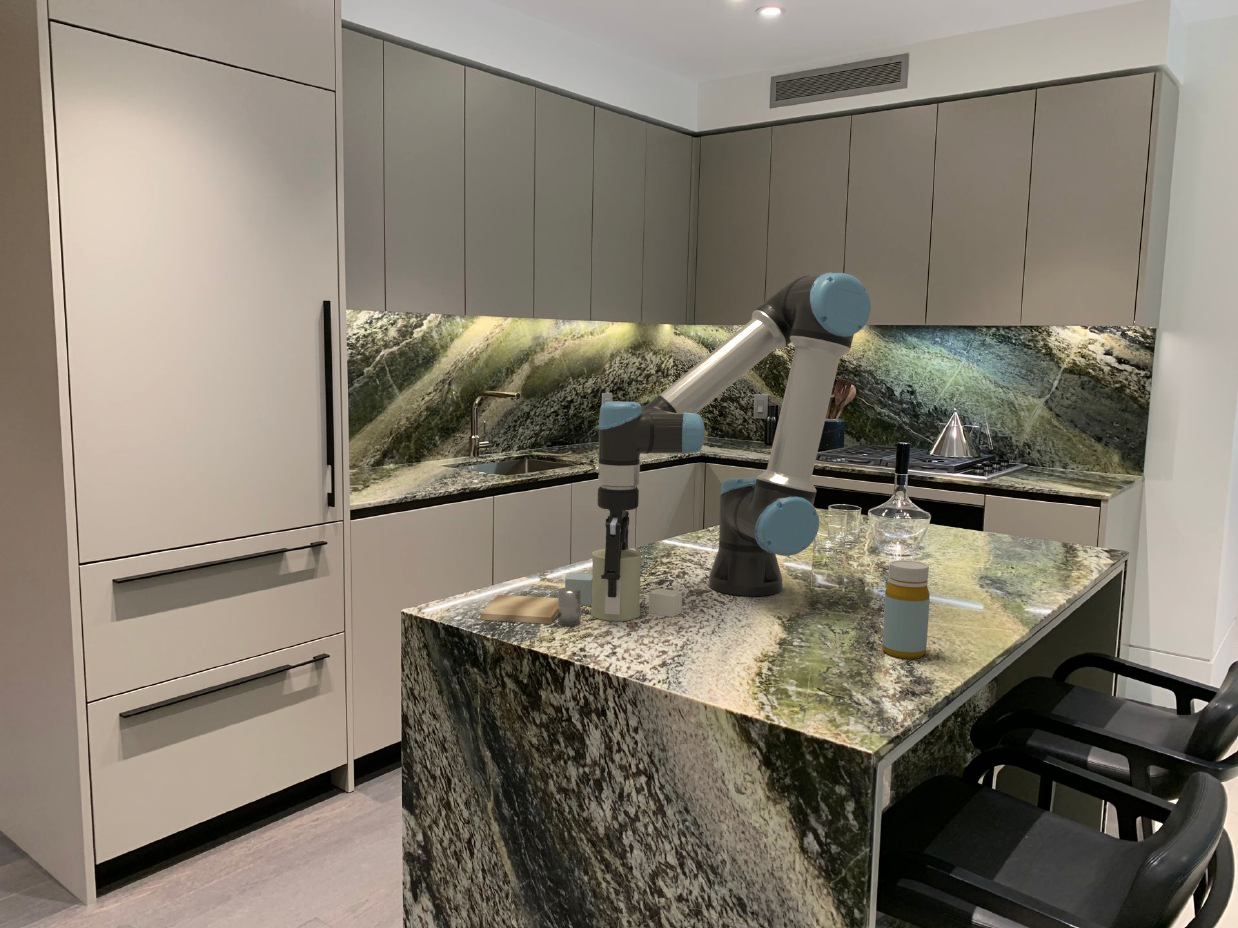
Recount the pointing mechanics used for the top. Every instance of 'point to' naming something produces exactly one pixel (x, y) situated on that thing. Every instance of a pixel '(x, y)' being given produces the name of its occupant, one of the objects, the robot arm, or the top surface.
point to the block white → (665, 602)
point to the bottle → (906, 610)
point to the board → (521, 609)
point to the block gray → (581, 586)
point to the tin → (569, 606)
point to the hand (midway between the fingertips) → (615, 606)
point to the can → (629, 586)
